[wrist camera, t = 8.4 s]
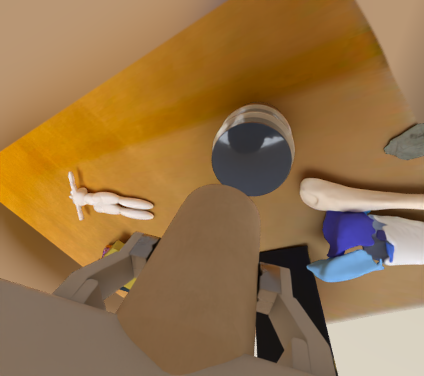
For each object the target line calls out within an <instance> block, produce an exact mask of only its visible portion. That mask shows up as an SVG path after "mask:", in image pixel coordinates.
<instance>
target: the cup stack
mask: <svg viewBox="0 0 424 376" xmlns="http://www.w3.org/2000/svg"><path fill="white" fill-rule="evenodd" d="M294 154H295V146H294V141H293V138H292V132H291V128H290V126H289V123H288V122H287V120H286V119H285V117H284V116H283V115H282V113H281V112H280V111H279V110H278V109H277V108H275V107H274V106H272V105H270V104H268V103H264V102H252V103H248V104H245V105H243V106H241V107H240V108H238V109H237V110H235V111H234V112H232V113H231V114H230V115H229V116H228V117H227V118H226V120H225V121H224V123H223V124H222V126H221V128H220V129H219V130H218V132H217V134H216V136H215V138H214V141H213V146H212V167H213V170H214V173H215V175H216V177H217V179H218V180H219V181H220V182H221V184H222V185H227V186H230V187H233V188H236V189H238V190H240V191H241V192H243V193H244V194H246V195H247V196H260V195H264V194H267V193H270V192H272V191H273V190H275V189H277V188H278V187H279V186H280V185H281V184H282V183H283V182H284V181H285V180H286V178H287V176H288V175H289V172H290V170H291V165H292V163H293V160H294Z"/></svg>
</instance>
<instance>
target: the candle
mask: <svg viewBox="0 0 424 376" xmlns="http://www.w3.org/2000/svg"><path fill="white" fill-rule="evenodd" d="M259 248H260V216H259V212H258V209H257V207H256V205H255V204H254V203H253V201H252V200H251V199H250V198H249V197H248V196H247V195H246V194H244V193H243V192H241V191H240V190H238V189H236V188H233V187H230V186H227V185H221V184H211V185H206V186H202V187H200V188H198V189H196V190H194V191H193V192H192V193H191V194H190V195H189V196H188V197H187V198H186V199H185V201H184V202H183V204H182V205H181V207H180V209H179V210H178V212H177V213H176V215H175V217H174V218H173V220H172V222H171V223H170V225H169V227H168V228H167V230H166V232H165V233H164V235H163V236H162V238H161V240H160V241H159V243H158V245H157V246H156V248H155V250H154V251H153V253H152V254H151V256H150V258H149V259H148V261H147V263H146V264H145V266H144V268H143V269H142V271H141V272H140V274H139V276H138V277H137V279H136V281H135V282H134V284H133V286H132V287H131V289H130V290H129V292H128V294H127V295H126V297H125V299H124V300H123V302H122V304H121V305H120V307H119V309H118V310H117V312H116V313H115V314H117V318H118V320H119V322H120V324H121V326H122V328H123V330H124V331H125V333H126V334H127V335H128V337H129V338H130V339H131V340H132V341H133V342H134V343H135V344H136V345H137V346H138V347H139V348H140V349H141V350H142V351H143V352H144V353H145V354H146V355H147V356H148V357H149V358H150V359H151V360H152V361H153V362H155V364H156V365H157V366H159V367H160V368H161V369H162V370H163V371H164V372H167V373H169V374H170V375H184V374H190V373H193V372H196V371H199V370H202V369H205V368H208V367H211V366H215V365H219V364H222V363H225V362H228V361H231V360H233V359H235V358H237V357H240V356H242V355H243V354H248V355H251V356H254V344H255V326H256V307H257V287H258V268H259Z"/></svg>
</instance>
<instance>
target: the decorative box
mask: <svg viewBox="0 0 424 376" xmlns="http://www.w3.org/2000/svg"><path fill="white" fill-rule="evenodd" d="M260 262H263V263H267V264H272V265H276V266H280V267H284V268H288V269H289V270H290V275H291V285H292V294H293V298H296V299H297V301H298V302H299V304H300V305H301V306H302V308H303V309H304V311H305V312H306V314H307V315H308V316H309V318H310V319H311V321H312V322H313V324H314V325H315V326H316V328H317V329H318V331H319V332H320V334H321V335H322V336H323V338H324V339H325V341H326V342H327V344H328V345H329V346H330V350H331V355H332V359H333V364H334V369H335V373H336V376H338V373H337V369H336V365H335V361H334V356H333V352H332V348H331V344H330V340H329V335H328V331H327V327H326V323H325V318H324V314H323V310H322V306H321V301H320V297H319V293H318V289H317V285H316V280H315V276H314V273H313V272H312V271H310V270H308V269H307V267H306V266H307V265H309V264H311V259H310V255H309V251H308V247H307V246H301V247H295V248H288V249H282V250H276V251H269V252H263V253H259V263H260ZM256 339H257V357H258V358H261V359H264V360H268V361H271V362H274V363H277V362H278V360H279V359H280V357H281V355H282V354H283V352H284V348H283V346H282V344H281V342H280V339H279V337H278V335H277V333H276V331H275V329H274V326H273V324H272V322H271V320H270V318H269V315H267V314H263V313H260V312H257V311H256Z"/></svg>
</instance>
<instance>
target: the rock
mask: <svg viewBox="0 0 424 376" xmlns="http://www.w3.org/2000/svg"><path fill="white" fill-rule="evenodd" d="M384 151H385V152H386V154H391V155H395V156H397V157H398V158H400V159H404V160H410V159H414V158H418V157H422V156H424V123H422V124H418V125H416V126H414V127H412V128H411V129H409V130H408V131H406V132H405V133H403V134H402V135H400V136H398V137H396V138H394V139H392V140H391V141H390V143H389V144H388V146H386V147H385V148H384Z"/></svg>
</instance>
